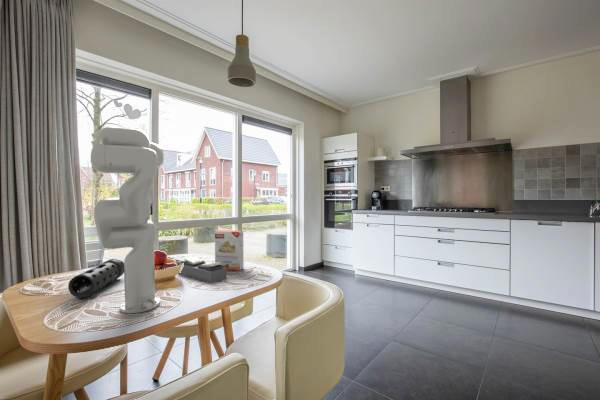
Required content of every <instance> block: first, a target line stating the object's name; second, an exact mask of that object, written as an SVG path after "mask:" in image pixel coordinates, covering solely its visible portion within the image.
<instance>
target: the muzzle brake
mask: <svg viewBox="0 0 600 400" xmlns="http://www.w3.org/2000/svg"><path fill="white" fill-rule="evenodd" d="M123 275H124V260H121V259H119V258H111V259H108V260H106V261H104V262H103V263H101V264H98V265H97V266H95V267H92V268H91V269H89V270H85V271H83V272H82V273H80V274H77V275H75V276H74V277H72V278H71V279H70V280H69V283H68V291H69V293H70V294H71V295H72V296H73V297H75V298H78V299H80V300H85V299H87V298H89V297H90V296H92V295H93V294H95V293H97V292H98V291H99V290H101V289H102V288H103V287H105V286H109V285H111V284H112V282H113V281H115V280H118V279H119V278H120V277H122V276H123Z"/></svg>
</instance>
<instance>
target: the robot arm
mask: <svg viewBox="0 0 600 400" xmlns="http://www.w3.org/2000/svg"><path fill="white" fill-rule="evenodd" d="M164 158H165V155H164V150H163V148H162V146H160V145H159V144H157V143H154V142H151V141H150V139H149V136H148V135H147V134H146V133H145V132H144V131H142V130H140V129H136V128H127V127H126V128H125V127H116V126H115V127H113V126H107V127H106V126H105V127H103V128H102V129H100V131H99V132H97V135H96V137H95V140H94V143H93V146H92V148H91V151H90V164H91V166H92V168H93V170H94V171H96V172H98V173H100V174H128V175H129V174H132V176H130V177H129V178H127V179H126V181H124V182H123V184H122V185H121V186H120V187H119V189H118V196H119V197H114V198H113V197H110V198H109V197H108V198H107V197H105V198H102V199H100V200H98V201H97V202H96V203H95V205H94V206H93V207H94V208H93V221H94V224H95V228H96V233H97V234H96V235H97V237H98V238H97V239H98V242H99V244H100V246H101V247H103V248H105V249H121V248H132V249H131V250H130V251H129V252H128V253H127V254H126V255H125V258H124V260H123V262H124V273H123V275H124V277H123V278H124V280H123V281H124V303H122V304H121V305H120V306H119V311H120V312H121V313H124V314H139V313H143V312H147V311H150V310H153V309H156V308H157V307H158V306H160V303H161V301H160V298H158V297H156V289H155V288H156V285H155V284H156V282H155V281H156V280H155V279H156V278H155V247H156V245H155V244H156V238H157V225H156V224H155V222H153V221H151V220H150V219H151V216H152V215H153V212H154V211H153V210H154V209H153V205H154V201H155V193H154V183H155V181H156V177H157V174H158V168H159V167H161V166H162V165H163V163H164Z"/></svg>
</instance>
